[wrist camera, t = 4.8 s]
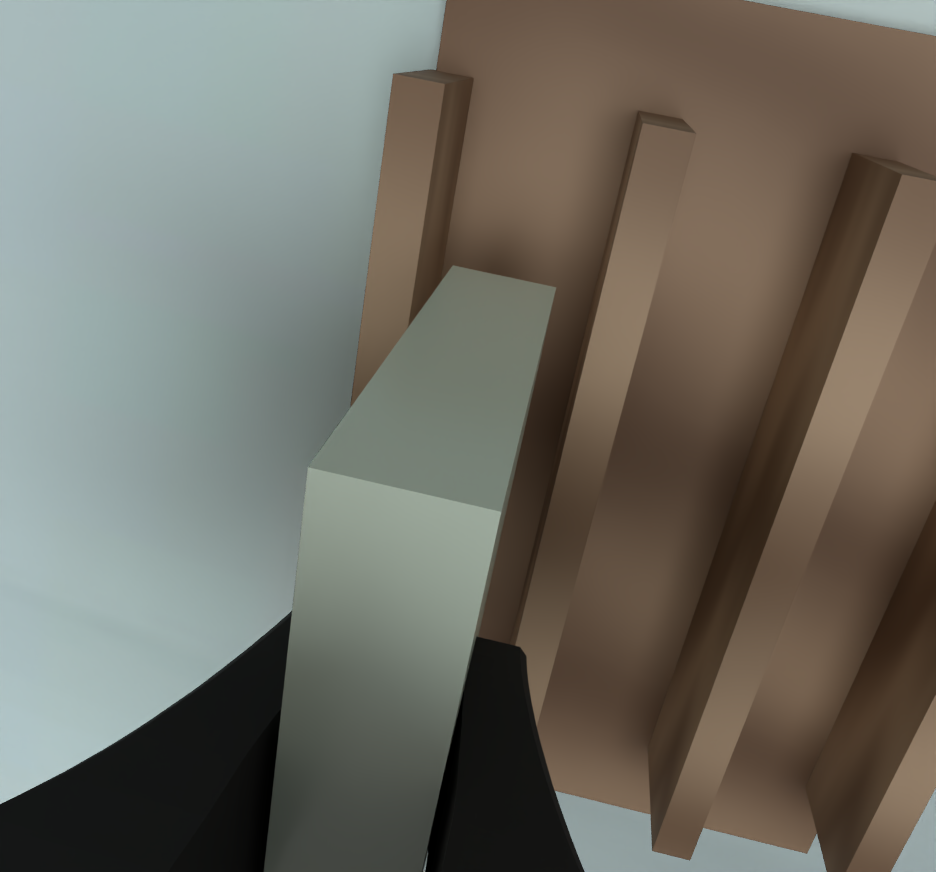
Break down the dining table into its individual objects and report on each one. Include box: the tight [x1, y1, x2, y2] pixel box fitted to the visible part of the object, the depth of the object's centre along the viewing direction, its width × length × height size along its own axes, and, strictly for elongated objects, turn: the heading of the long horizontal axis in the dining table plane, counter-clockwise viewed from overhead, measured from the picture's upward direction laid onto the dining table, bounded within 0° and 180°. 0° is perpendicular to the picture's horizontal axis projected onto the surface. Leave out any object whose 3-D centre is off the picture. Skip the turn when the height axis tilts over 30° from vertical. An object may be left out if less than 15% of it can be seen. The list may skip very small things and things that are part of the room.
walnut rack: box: [350, 0, 936, 872], centre depth 18 cm, size 18×12×4 cm
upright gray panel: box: [264, 265, 556, 872], centre depth 12 cm, size 9×2×7 cm, turn 170°
